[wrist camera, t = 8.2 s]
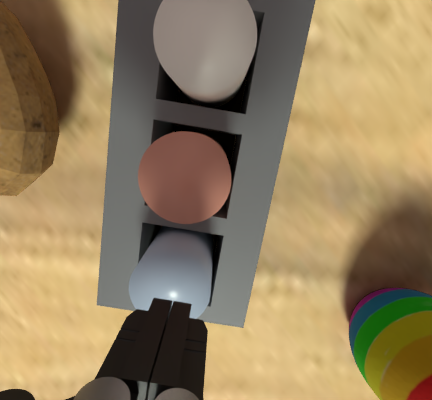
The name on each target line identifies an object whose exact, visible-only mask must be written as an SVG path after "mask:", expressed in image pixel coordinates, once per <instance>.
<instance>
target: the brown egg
mask: <svg viewBox="0 0 432 400" xmlns="http://www.w3.org/2000/svg"><path fill="white" fill-rule="evenodd" d="M138 183H139V188H140V191H141V194H142V196H143V198H144V200H145V202H146V203H147V205H148V206H149V207H150V208H151V209H152V210H153V211H154V212H155V213H156V214H157V215H159V216H160V217H162V218H164V219H166V220H168V221H171V222H174V223H178V224H193V223H198V222H201V221H204V220H206V219H208V218H210V217H211V216H213V215H214V214H215V213H217V212H218V211H219V210H220V209H221V207H222V206H223V205H224V203H225V201H226V200H227V197H228V195H229V192H230V188H231V170H230V166H229V163H228V159H227V156H226V153H225V151H224V149H223V147H222V146H221V145H220V143H219V142H218V141H216V140H215V139H214V138H212V137H210V136H208V135H206V134H202V133H195V132H187V131H179V132H173V133H169V134H166V135H164V136H162V137H160V138H159V139H157V140H156V141H154V142H153V143H152V144H151V145H150V146H149V147H148V149H147V150H146V151H145V153H144V155H143V157H142V159H141V161H140V165H139V170H138Z"/></svg>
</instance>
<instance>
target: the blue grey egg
mask: <svg viewBox="0 0 432 400" xmlns="http://www.w3.org/2000/svg"><path fill="white" fill-rule="evenodd" d="M213 248H214V240H213V236H212V234H211V233H205V232H198V231H192V230H186V229H180V228H174V227H168V226H162V227H161V229H160V230H159V232H158V234H157V235H156V237H155V238H154V240H153V241H152V243H151V244H150V246H149V247H148V249H147V251H146V252H145V254H144V255H143V257H142V258H141V260H140V261H139V263H138V264H137V266H136V268H135V269H134V271H133V273H132V275H131V277H130V281H129V295H130V299H131V301H132V304H133V305H134V307H135V308H136V309H140V310H146V311H148V310H149V308H150V305H151V303H152V300H153V298H160V299H166V300H172V305H173V302H174V301H178V302H184V303H190V304H192V306H191V311H190V317H189V318H194V319H197V318H198V317H199V316H200V315H201V314H202V313H203V312H204V311H205V309H206V307H207V305H208V303H209V300H210V294H211V280H212V264H213Z"/></svg>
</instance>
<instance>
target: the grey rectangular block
mask: <svg viewBox="0 0 432 400" xmlns="http://www.w3.org/2000/svg"><path fill="white" fill-rule="evenodd" d="M162 1H163V0H119V2H118V16H117V30H116V44H115V58H114V72H113V86H112V100H111V114H110V128H109V142H108V156H107V170H106V184H105V198H104V212H103V226H102V240H101V254H100V268H99V282H98V296H97V305H100V306H106V307H112V308H119V309H125V310H132V311H135V310H136V308H135V307H134V305H133V304H132V301H131V299H130V295H129V281H130V277H131V275H132V273H133V271H134V269H135V268H136V266H137V264H138V263H139V261H140V260H141V258H142V257H143V255H144V254H145V252H146V251H147V249H148V247H149V246H150V244H151V243H152V241H153V240H154V238H155V237H156V235H157V234H158V232H159V230H160V228H161V225H162V226H168V227H174V228H180V229H186V230H192V231H198V232H205V233H211V234H217V235H218V238H217V243H216V249H215V254H214V260H213V264H212V280H211V294H210V300H209V303H208V305H207V307H206V309H205V311H204V312H203V313H202V314H201V315H200V316H199V317H198V318H197V319H200V320H203V321H204V322H209V323H216V324H222V325H228V326H235V327H241V328H243V326H244V322H245V317H246V313H247V308H248V304H249V299H250V295H251V290H252V286H253V281H254V277H255V272H256V267H257V263H258V258H259V254H260V249H261V245H262V240H263V236H264V231H265V227H266V222H267V218H268V213H269V208H270V204H271V199H272V195H273V190H274V186H275V181H276V177H277V172H278V168H279V163H280V159H281V154H282V149H283V145H284V140H285V136H286V131H287V127H288V122H289V118H290V113H291V109H292V104H293V100H294V95H295V90H296V86H297V81H298V77H299V72H300V68H301V63H302V59H303V54H304V50H305V45H306V41H307V36H308V31H309V27H310V22H311V18H312V13H313V9H314V4H315V0H247V1H248V2H249V4H250V6H251V8H252V11H253V13H254V16H255V20H256V26H257V43H256V49H255V53H254V56H253V58H252V61H251V63H250V66H249V68H248V71H247V75H246V81H245V86H244V92H243V97H242V103H241V109H240V113H235V112H230V111H224V110H218V109H212V108H206V107H201V106H195V105H189V104H183V103H178V102H176V100H177V92H178V86H177V85H176V83H175V82H174V81H173V80H172V79H171V78H170V76H169V75H168V74H167V73H166V71H165V70H164V69H163V67H162V65H161V64H160V62H159V59H158V57H157V54H156V51H155V47H154V40H153V27H154V21H155V17H156V14H157V11H158V9H159V6H160V4H161V3H162ZM173 124H175V125H181V126H187V127H192V128H198V129H204V130H210V131H216V132H222V133H227V134H233V135H236V137H235V142H234V148H233V153H232V159H231V165H230V170H231V188H230V192H229V195H228V197H227V200H226V201H225V203H224V205H223V206H222V207H221V209H220V210H219V211H218V212H217V213H215V214H214V215H213V216H211V217H210V218H208V219H206V220H204V221H201V222H198V223H193V224H178V223H174V222H171V221H168V220H166V219H164V218H162V217H160V216H159V215H157V214H156V213H155V212H154V211H153V210H152V209H151V208H150V207H149V206H148V205H147V203H146V202H145V200H144V198H143V196H142V194H141V191H140V188H139V183H138V170H139V165H140V161H141V159H142V157H143V155H144V153H145V151H146V150H147V149H148V147H149V146H150V145H151V144H152V143H153V142H154V141H156V140H157V139H159V138H160V137H162V136H164V135H166V134H169V133H172V132H173Z"/></svg>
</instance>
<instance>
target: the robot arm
mask: <svg viewBox="0 0 432 400" xmlns="http://www.w3.org/2000/svg"><path fill="white" fill-rule="evenodd" d="M191 306H192V304H190V303H184V302H178V301H174V302H173V305H172V300H166V299H160V298H153V300H152V303H151V305H150V308H149V310H148V311H146V310H140V309H136V310H135V311H134V312H133V313H131V314H130V315H129V316H128V317H127V318H126V320H125V322H124V323H123V325H122V327H121V330H120V331H119V333H118V335H117V337H116V340H115V341H114V343H113V345H112V347H111V349H110V351H109V353H108V354H107V356H106V358H105V360H104V362H103V364H102V366H101V368H100V370H99V372H98V374H97V376H96V378H95V379H94V380H93V381H91V382H89V383H87V384H86V385H85V386H83V387H82V388H81V389H80V390H79V392H78V393H77V394H76V396H74V397H71V398H69V399H66V400H203V388H204V374H205V360H206V346H207V345H206V344H207V332H208V330H207V328H206V326H205V324H204V321H203V320H200V319H194V318H189V317H190V311H191ZM0 400H35V399H34V397H33V395H32V394H31V393H29V392H28V391H26V390H22V389H9V390H5V391H1V392H0Z"/></svg>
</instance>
